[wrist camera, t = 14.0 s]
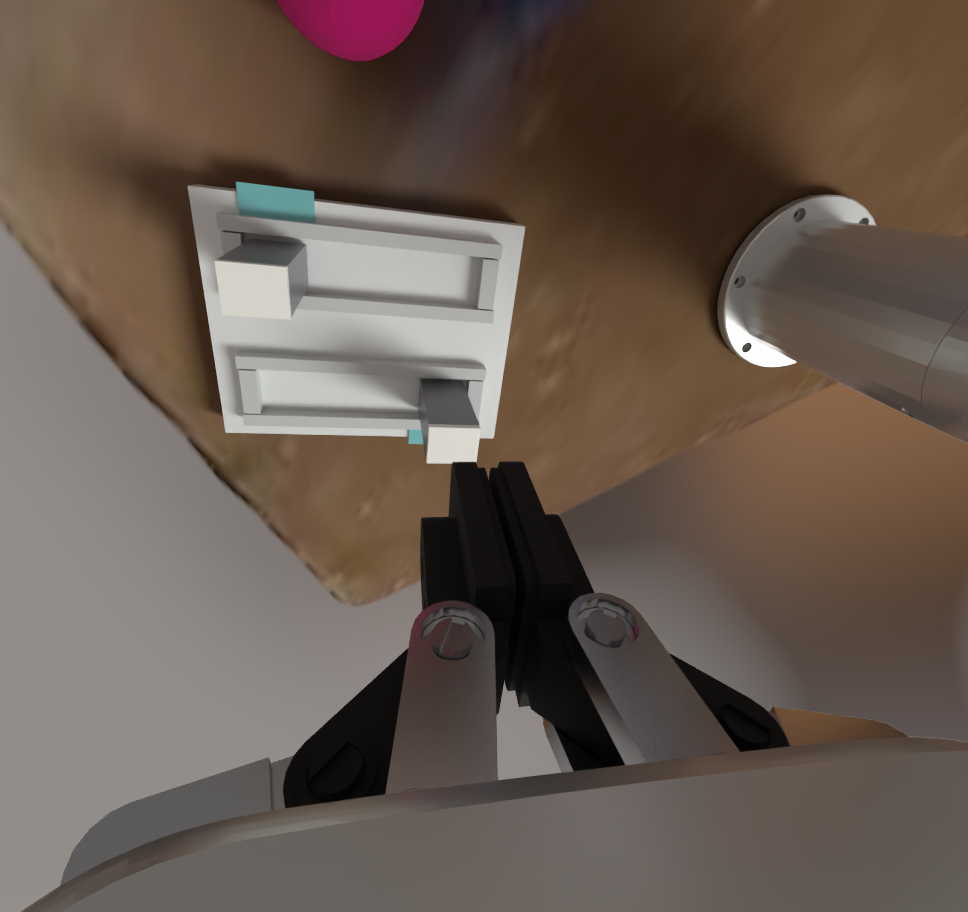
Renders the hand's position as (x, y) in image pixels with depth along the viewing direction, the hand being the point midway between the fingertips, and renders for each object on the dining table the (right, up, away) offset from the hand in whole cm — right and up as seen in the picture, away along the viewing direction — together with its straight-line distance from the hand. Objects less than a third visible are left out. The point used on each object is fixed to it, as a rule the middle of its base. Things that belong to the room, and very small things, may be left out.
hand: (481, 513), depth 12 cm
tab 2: (-3, +6, +23) cm, 24 cm away
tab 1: (-12, +13, +17) cm, 24 cm away
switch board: (-8, +10, +22) cm, 26 cm away
